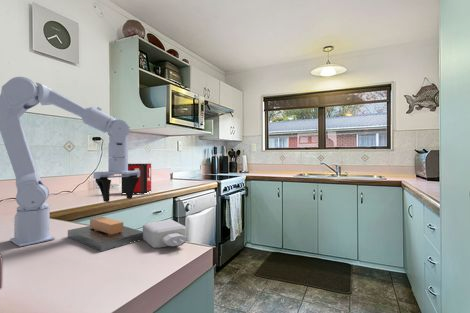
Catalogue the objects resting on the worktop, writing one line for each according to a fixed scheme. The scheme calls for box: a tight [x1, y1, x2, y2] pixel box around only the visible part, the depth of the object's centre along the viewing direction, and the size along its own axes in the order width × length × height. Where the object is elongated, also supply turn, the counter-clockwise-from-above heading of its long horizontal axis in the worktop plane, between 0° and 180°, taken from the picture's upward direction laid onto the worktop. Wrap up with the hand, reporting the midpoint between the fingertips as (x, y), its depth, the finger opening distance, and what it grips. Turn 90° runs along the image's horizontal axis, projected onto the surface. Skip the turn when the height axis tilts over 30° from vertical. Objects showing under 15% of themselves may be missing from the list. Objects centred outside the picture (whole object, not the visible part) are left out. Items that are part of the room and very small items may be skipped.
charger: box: [142, 219, 188, 249], centre depth 68 cm, size 5×9×15 cm
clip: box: [89, 216, 124, 236], centre depth 73 cm, size 12×4×5 cm, turn 53°
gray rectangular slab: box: [67, 225, 143, 252], centre depth 73 cm, size 20×12×2 cm, turn 53°
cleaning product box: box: [121, 163, 152, 194], centre depth 173 cm, size 16×9×20 cm, turn 90°
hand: (118, 200), depth 82 cm, fingers open, 7 cm apart
